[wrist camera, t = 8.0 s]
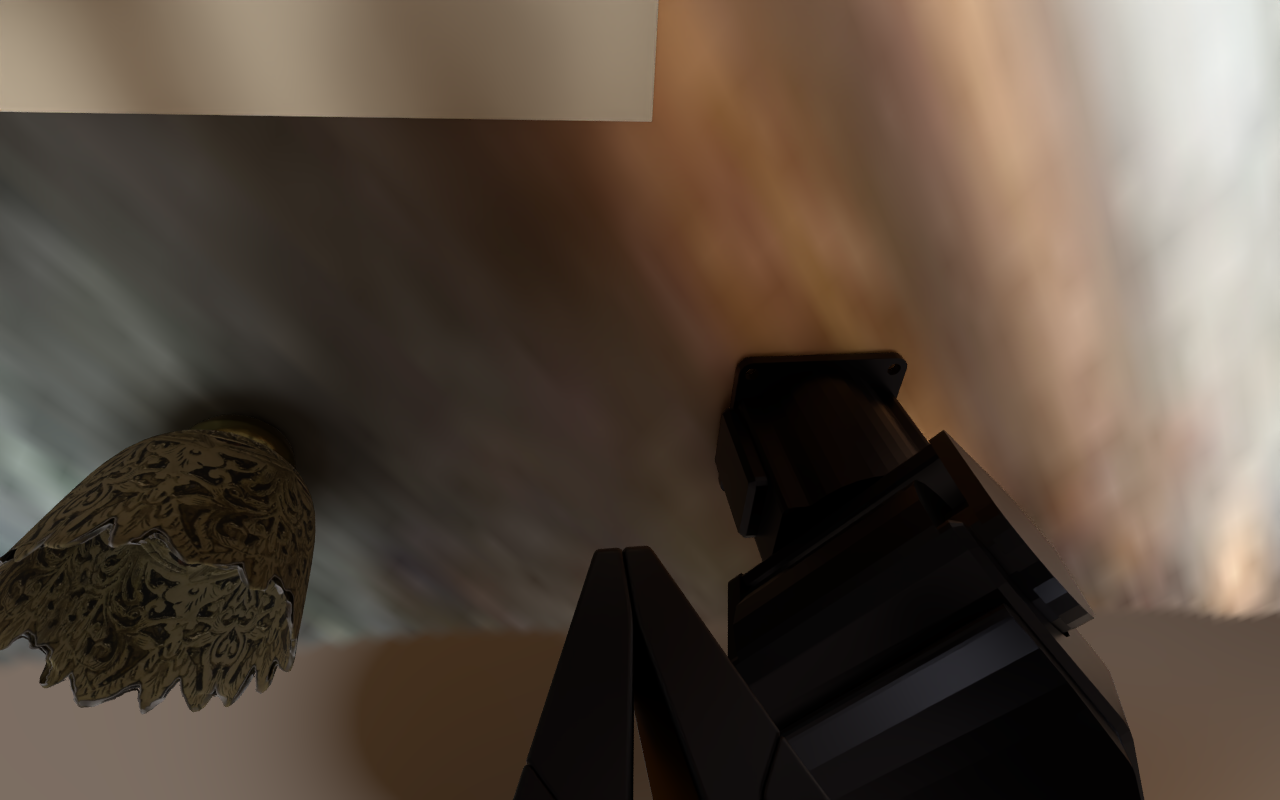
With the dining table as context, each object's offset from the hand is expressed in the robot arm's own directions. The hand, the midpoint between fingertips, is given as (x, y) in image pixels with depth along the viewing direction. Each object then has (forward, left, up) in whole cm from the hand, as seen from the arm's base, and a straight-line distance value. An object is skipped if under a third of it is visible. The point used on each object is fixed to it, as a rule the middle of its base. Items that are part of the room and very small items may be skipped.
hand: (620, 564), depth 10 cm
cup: (+12, +8, -13) cm, 20 cm away
